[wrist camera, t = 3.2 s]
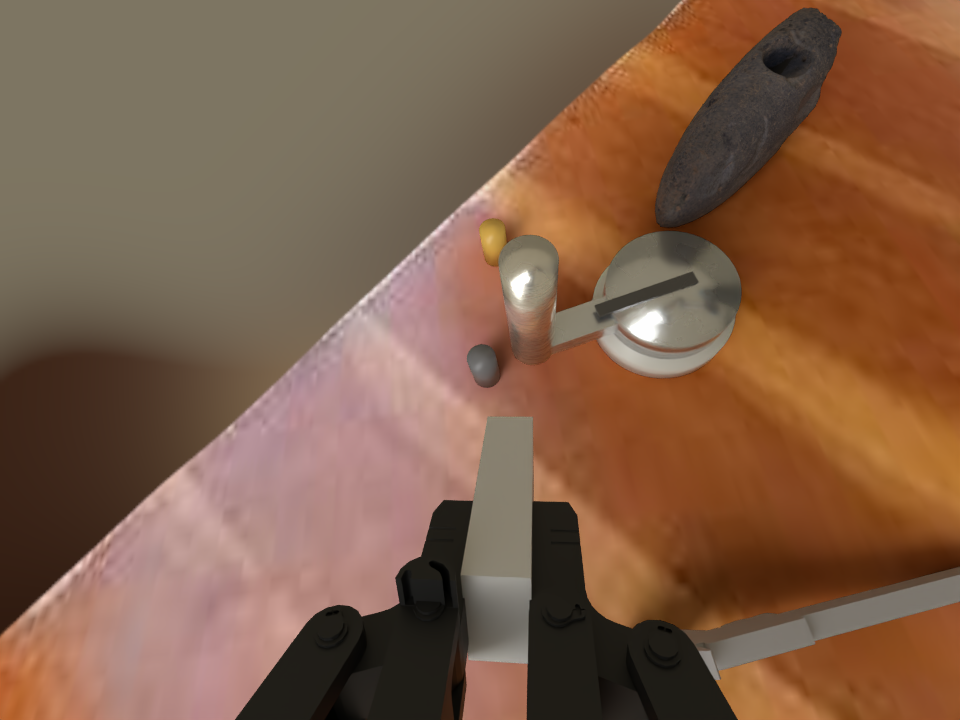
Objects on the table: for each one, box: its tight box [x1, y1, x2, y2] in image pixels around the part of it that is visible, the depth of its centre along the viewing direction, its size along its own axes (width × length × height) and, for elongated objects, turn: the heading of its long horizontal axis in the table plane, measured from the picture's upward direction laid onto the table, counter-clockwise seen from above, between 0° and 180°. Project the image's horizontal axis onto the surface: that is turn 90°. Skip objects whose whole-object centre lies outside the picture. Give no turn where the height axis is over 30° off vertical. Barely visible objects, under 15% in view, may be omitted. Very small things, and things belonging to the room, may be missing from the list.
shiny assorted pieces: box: [467, 218, 736, 388], centre depth 29 cm, size 16×13×3 cm
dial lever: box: [498, 231, 741, 365], centre depth 24 cm, size 13×7×9 cm, turn 108°
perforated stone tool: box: [655, 8, 842, 228], centre depth 30 cm, size 15×5×7 cm, turn 136°
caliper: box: [680, 567, 960, 680], centre depth 21 cm, size 20×1×6 cm, turn 102°
